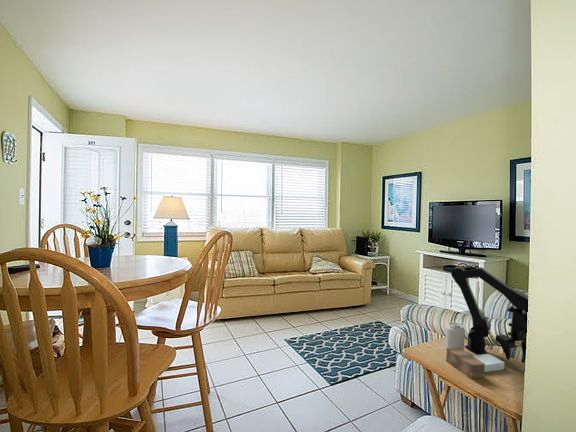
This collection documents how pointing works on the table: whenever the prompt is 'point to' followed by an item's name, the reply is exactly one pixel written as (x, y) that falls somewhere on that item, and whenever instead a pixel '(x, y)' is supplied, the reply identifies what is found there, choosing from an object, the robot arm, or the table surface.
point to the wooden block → (465, 363)
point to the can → (455, 336)
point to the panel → (490, 362)
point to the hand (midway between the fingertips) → (516, 358)
